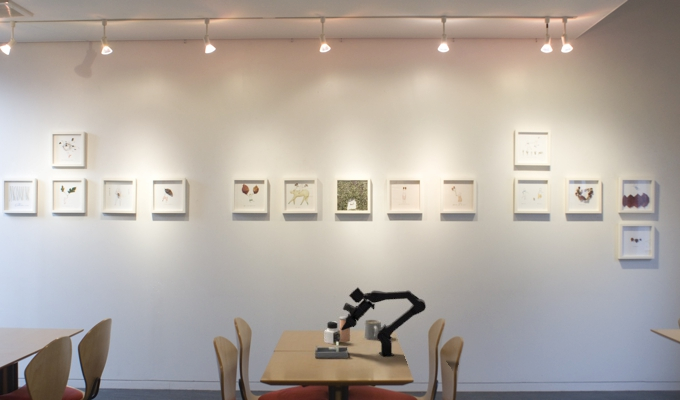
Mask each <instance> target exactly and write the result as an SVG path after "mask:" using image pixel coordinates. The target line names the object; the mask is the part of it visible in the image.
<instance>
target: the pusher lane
mask: <svg viewBox="0 0 680 400" xmlns="http://www.w3.org/2000/svg"><path fill="white" fill-rule="evenodd" d="M314 350H315V353H314V354H315V355H314V357H315V359H348V358H349V352H348V346H339V352H336V350H329V346H325V347H324V346H320V347H319V346H318V345H315V349H314Z"/></svg>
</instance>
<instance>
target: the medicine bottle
mask: <svg viewBox="0 0 680 400" xmlns="http://www.w3.org/2000/svg"><path fill="white" fill-rule="evenodd" d="M326 326H327V329H325V330H324V332H323V333H324V335H323V336H324V338H323V340H324V341H323V342H324V344H325V343H327V344H330V345H336V342H338V343H341V341H340V329H338V327H339V325H338V322H337V321H333V320H332V321H328V322H327V324H326Z"/></svg>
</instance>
